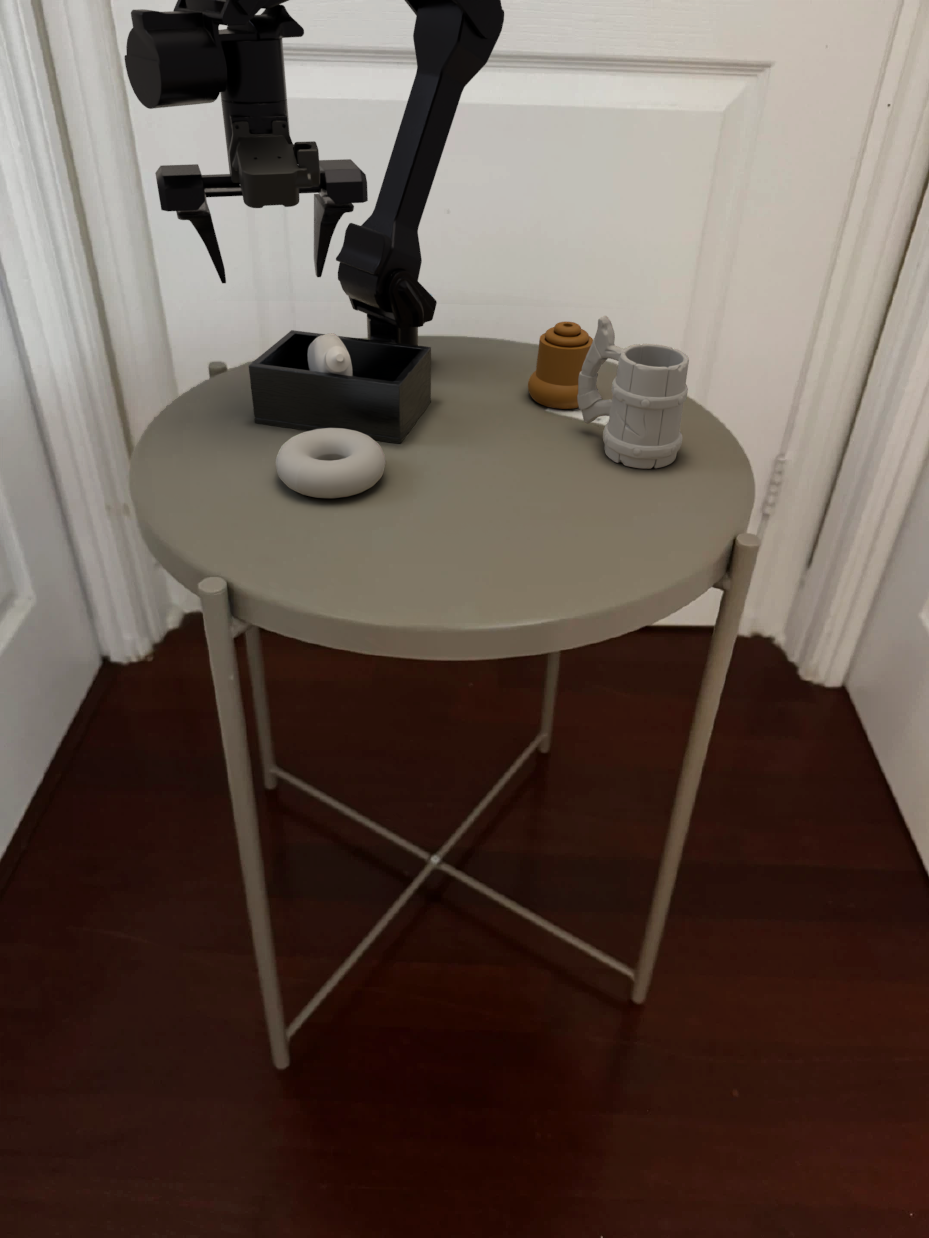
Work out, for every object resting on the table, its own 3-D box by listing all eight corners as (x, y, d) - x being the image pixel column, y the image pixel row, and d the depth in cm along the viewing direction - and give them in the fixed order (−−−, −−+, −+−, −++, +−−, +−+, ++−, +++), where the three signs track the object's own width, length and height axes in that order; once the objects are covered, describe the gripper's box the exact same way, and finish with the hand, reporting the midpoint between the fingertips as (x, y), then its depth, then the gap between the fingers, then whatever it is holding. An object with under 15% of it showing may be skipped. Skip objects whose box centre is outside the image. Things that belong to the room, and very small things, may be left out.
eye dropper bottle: (299, 390, 99) (311, 382, 88) (310, 337, 98) (322, 321, 87) (340, 400, 100) (356, 393, 89) (350, 347, 100) (368, 333, 88)
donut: (398, 462, 90) (298, 448, 91) (398, 428, 88) (296, 415, 89) (368, 513, 82) (260, 497, 83) (367, 478, 80) (256, 462, 81)
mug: (652, 479, 88) (672, 355, 81) (552, 440, 94) (562, 321, 87) (694, 452, 93) (716, 333, 86) (596, 417, 99) (609, 303, 92)
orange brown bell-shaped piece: (609, 401, 102) (557, 417, 99) (564, 379, 107) (513, 393, 103) (618, 329, 97) (564, 342, 94) (571, 309, 102) (517, 321, 99)
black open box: (296, 384, 104) (291, 330, 100) (431, 402, 101) (431, 347, 97) (254, 423, 96) (248, 365, 92) (400, 444, 93) (399, 385, 89)
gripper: (146, 116, 74) (177, 313, 83) (378, 111, 79) (383, 298, 88) (142, 95, 83) (171, 276, 92) (351, 92, 87) (359, 264, 96)
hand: (271, 279), depth 92 cm, fingers open, 9 cm apart
